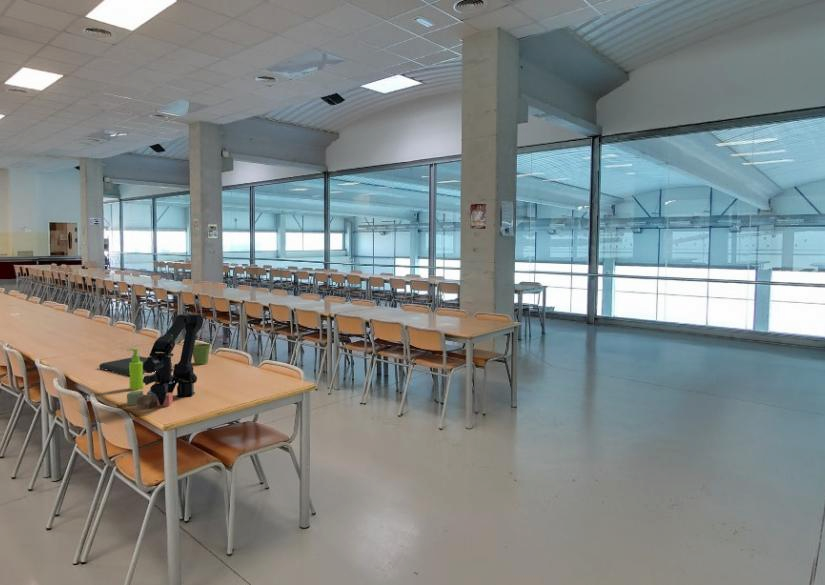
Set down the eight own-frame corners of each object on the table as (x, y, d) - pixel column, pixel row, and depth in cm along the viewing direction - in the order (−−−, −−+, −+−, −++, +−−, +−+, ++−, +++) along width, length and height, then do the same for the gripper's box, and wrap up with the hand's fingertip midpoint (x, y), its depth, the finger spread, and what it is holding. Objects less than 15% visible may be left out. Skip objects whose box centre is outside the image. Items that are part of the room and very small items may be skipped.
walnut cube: (153, 405, 240) (152, 394, 240) (149, 408, 235) (148, 397, 235) (141, 405, 239) (141, 394, 239) (137, 409, 235) (136, 398, 234)
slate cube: (162, 399, 249) (162, 389, 248) (158, 402, 244) (158, 392, 243) (151, 400, 248) (151, 389, 248) (147, 403, 243) (147, 392, 243)
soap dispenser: (132, 386, 270) (131, 347, 268) (145, 387, 270) (144, 347, 268) (125, 389, 264) (123, 349, 263) (138, 390, 264) (137, 350, 262)
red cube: (172, 403, 244) (172, 392, 243) (169, 406, 239) (168, 395, 238) (161, 403, 243) (160, 392, 242) (157, 407, 238) (157, 395, 238)
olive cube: (143, 401, 245) (142, 391, 245) (139, 405, 240) (138, 394, 240) (131, 402, 245) (131, 391, 244) (127, 405, 240) (126, 394, 239)
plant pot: (215, 362, 328) (215, 343, 327) (204, 366, 317) (204, 347, 316) (197, 361, 330) (197, 342, 329) (186, 365, 319) (185, 346, 318)
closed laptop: (172, 362, 310) (131, 371, 289) (173, 369, 310) (132, 378, 290) (139, 355, 327) (99, 363, 307) (140, 362, 328) (99, 370, 307)
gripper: (152, 363, 248) (153, 396, 249) (137, 373, 229) (138, 408, 230) (177, 363, 249) (178, 396, 250) (164, 372, 230) (165, 408, 232)
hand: (165, 402), depth 241 cm, fingers open, 9 cm apart
